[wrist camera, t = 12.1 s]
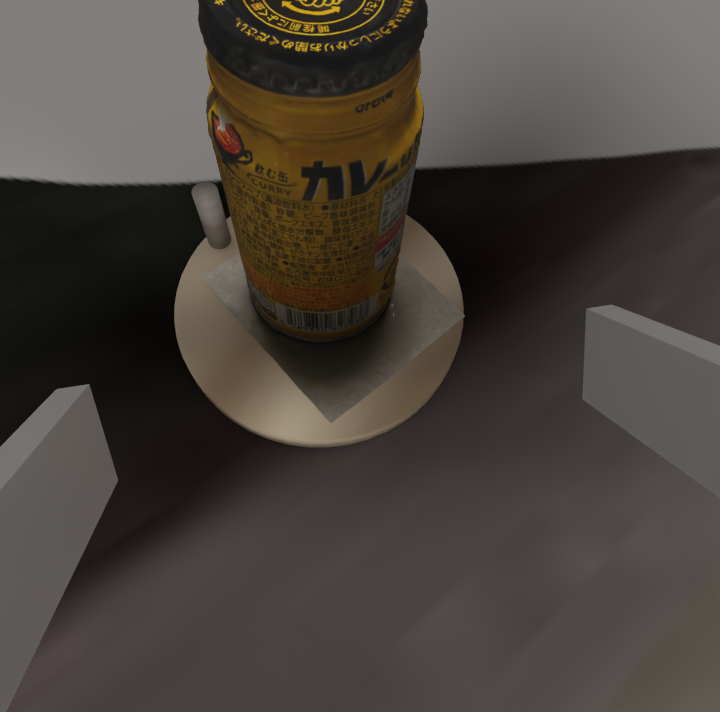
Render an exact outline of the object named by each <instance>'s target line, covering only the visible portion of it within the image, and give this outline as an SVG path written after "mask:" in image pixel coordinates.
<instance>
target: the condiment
mask: <svg viewBox="0 0 720 712" xmlns="http://www.w3.org/2000/svg"><path fill="white" fill-rule="evenodd" d="M198 2H199V17H198V21H199V26H200V30H201V33H202V35H203V38H204V43H205V45H206V47H207V55H206V61H207V68H208V73H209V76H210V80H211V86H210V89H209V93H208V97H207V109H206V113H207V120H208V131H209V135H210V137H211V139H212V143H213V148H214V151H215V155H216V159H217V163H218V167H219V171H220V175H221V180H222V184H223V188H224V192H225V196H226V200H227V204H228V208H229V212H230V216H231V220H232V224H233V228H234V232H235V236H236V240H237V244H238V248H239V252H240V253H239V254H237V255H235V256H234V257H231V258H229V259H228V260H226V261H225V262H223V263H222V264H220V265H218V266H217V267H215V268H213V269H212V270H210V271H209V272H207V273H206V274H204V275H203V276H201V278H202V279H203V280H204V281H205V283H206V284H207V285H208V286H209V287H210V288H211V289H212V291H213V292H214V293H215V294H216V295H217V296H218V298H219V299H220V300H221V301H222V302H223V303H224V304H225V306H226V307H227V308H228V309H229V310H230V311H231V312H232V313H233V314H234V316H235V317H236V318H237V319H238V320H239V322H240V323H241V324H242V325H243V326H244V327H245V329H246V330H248V331H249V332H250V334H251V335H252V336H253V337H254V339H255V340H256V341H257V342H258V343H259V344H260V345H261V346H262V347H263V349H264V350H265V351H266V352H267V353H268V354H269V355H270V356H271V357H272V358H273V359H274V360H275V361H276V362H277V363H278V365H279V366H280V367H281V368H282V370H283V371H284V372H285V373H286V374H287V375H288V376H289V378H290V379H291V380H292V381H293V382H294V383H295V385H296V386H297V387H298V388H299V389H300V390H301V391H302V392H303V393H304V394H305V395H306V396H307V397H308V398H309V399H310V401H311V402H312V403H313V404H314V405H315V406H316V407H317V409H318V410H319V411H320V412H321V413H322V414H323V415H324V417H325V418H326V419H327V420H328V421H329V422H330V423H332V422H334V421H335V420H336V419H338V418H339V417H340V416H341V415H343V414H344V413H345V412H346V411H347V410H349V409H351V408H352V407H354V406H355V405H356V404H357V403H358V402H360V401H361V400H362V399H364V398H365V397H366V396H367V395H369V394H370V393H371V392H372V391H373V390H374V389H376V388H377V387H378V386H380V385H381V384H383V383H384V382H385V381H386V380H388V379H389V378H390V377H391V376H392V375H394V374H395V373H396V372H397V371H399V370H400V369H401V368H402V367H403V366H405V365H406V364H407V363H408V362H410V361H412V360H413V359H414V358H415V357H416V356H417V355H418V354H420V353H421V352H422V351H423V350H424V349H425V348H426V347H428V346H429V345H430V344H432V343H433V342H434V341H436V340H437V339H438V338H439V337H441V336H442V335H443V334H444V333H445V332H446V331H448V330H449V329H450V328H451V327H452V326H454V325H455V324H456V323H457V322H459V321H460V320H461V319H462V318H464V317H465V315H464V314H463V313H462V312H461V311H460V310H459V309H458V308H457V307H456V306H455V305H454V304H453V303H452V302H451V301H450V300H449V299H447V298H446V297H445V296H444V295H442V294H441V293H440V292H439V291H438V290H437V288H436V287H435V286H434V285H433V284H432V283H431V282H429V281H428V280H427V279H425V278H424V277H423V276H422V275H421V274H420V273H419V272H418V271H417V269H415V268H414V267H413V266H412V265H410V264H409V263H408V262H407V261H406V260H405V259H404V258H403V257H401V256H400V255H399V253H400V251H401V248H400V247H401V243H402V238H403V229H404V226H405V219H406V214H407V209H408V203H409V199H410V193H411V187H412V183H413V177H414V173H415V165H416V160H417V154H418V147H419V144H420V137H421V133H422V125H423V118H424V107H423V102H422V97H421V93H420V90H419V88H418V85H417V84H418V80H419V77H420V74H421V59H420V51H419V48H420V45H421V43H422V39H423V38H424V30H425V28H426V27H427V14H428V12H427V11H428V9H427V4H426V1H425V0H198ZM392 304H393V307H391V305H392ZM393 313H395V314H394V317H393Z"/></svg>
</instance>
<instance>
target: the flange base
mask: <svg viewBox="0 0 720 712" xmlns="http://www.w3.org/2000/svg"><path fill="white" fill-rule="evenodd" d="M192 196H193V199H194V202H195V205H196V208H197V211H198V214H199V217H200V219H201V222H202V225H203V228H204V231H205V234H206V238H205V239H204V240H203V241H202V242H201V243H200V244H199V246H198V247H197V249H196V250H195V252H194V253H193V255H192V256H191V258H190V259H189V261H188V263H187V265H186V267H185V269H184V271H183V273H182V276H181V279H180V282H179V285H178V289H177V293H176V300H175V306H174V324H175V330H176V337H177V341H178V344H179V348H180V351H181V354H182V357H183V359H184V361H185V363H186V365H187V367H188V369H189V371H190V373H191V374H192V376H193V378H194V379H195V381H196V383H197V384H198V386H199V387H200V388H201V390H202V391H203V393H204V394H205V395H206V397H207V398H208V399H209V400H210V401H211V402H212V404H213V405H214V406H215V407H216V408H217V409H218V410H219V411H220V412H221V413H223V414H224V415H225V416H227V417H228V418H229V419H230V420H232V421H233V422H234V423H236V424H238V425H239V426H241V427H243V428H244V429H246V430H248V431H250V432H251V433H254V434H256V435H259V436H261V437H263V438H266V439H268V440H272V441H275V442H279V443H283V444H287V445H292V446H300V447H308V448H330V447H337V446H345V445H351V444H355V443H358V442H362V441H366V440H369V439H372V438H374V437H377V436H379V435H382V434H384V433H386V432H388V431H390V430H392V429H393V428H395V427H397V426H399V425H400V424H402V423H404V422H405V421H406V420H408V419H409V418H410V417H411V416H413V415H414V414H415V413H417V412H418V411H419V410H420V409H421V408H422V407H423V406H424V405H425V404H426V403H427V402H428V401H429V400H430V399H431V397H432V396H433V394H434V393H435V392H436V390H437V389H438V388H439V386H440V385H441V383H442V381H443V379H444V377H445V376H446V374H447V372H448V370H449V368H450V366H451V364H452V362H453V360H454V357H455V354H456V352H457V349H458V346H459V343H460V339H461V334H462V328H463V318H462V319H461V320H460V321H459V322H457V323H456V324H455V325H454V326H452V327H451V328H450V329H449V330H448V331H446V332H445V333H444V334H443V335H442V336H441V337H439V338H438V339H437V340H436V341H434V342H433V343H432V344H430V345H429V346H428V347H426V348H425V349H424V350H423V351H422V352H421V353H420V354H418V355H417V356H416V357H415V358H414V359H413V360H412V361H410V362H408V363H407V364H406V365H405V366H403V367H402V368H401V369H400V370H399V371H397V372H396V373H395V374H394V375H392V376H391V377H390V378H389V379H388V380H386V381H385V382H384V383H383V384H381V385H380V386H378V387H377V388H376V389H374V390H373V391H372V392H371V393H370V394H369V395H367V396H366V397H365V398H364V399H362V400H361V401H360V402H358V403H357V404H356V405H355V406H354V407H352V408H351V409H349V410H347V411H346V412H345V413H344V414H343V415H341V416H340V417H339V418H338V419H336V420H335V421H334V422H332V423H330V422H329V421H328V420H327V419H326V418H325V417H324V415H323V414H322V413H321V412H320V411H319V410H318V409H317V407H316V406H315V405H314V404H313V403H312V402H311V401H310V399H309V398H308V397H307V396H306V395H305V394H304V393H303V392H302V391H301V390H300V389H299V388H298V387H297V386H296V385H295V383H294V382H293V381H292V380H291V379H290V378H289V376H288V375H287V374H286V373H285V372H284V371H283V370H282V368H281V367H280V366H279V365H278V363H277V362H276V361H275V360H274V359H273V358H272V357H271V356H270V355H269V354H268V353H267V352H266V351H265V350H264V349H263V347H262V346H261V345H260V344H259V343H258V342H257V341H256V340H255V339H254V337H253V336H252V335H251V334H250V332H249V331H248V330H246V329H245V327H244V326H243V325H242V324H241V323H240V322H239V320H238V319H237V318H236V317H235V316H234V314H233V313H232V312H231V311H230V310H229V309H228V308H227V307H226V306H225V304H224V303H223V302H222V301H221V300H220V299H219V298H218V296H217V295H216V294H215V293H214V292H213V291H212V289H211V288H210V287H209V286H208V285H207V284H206V283H205V281H204V280H203V279H202V278H201V276H203V275H204V274H206V273H207V272H209V271H210V270H212V269H213V268H215V267H217V266H218V265H220V264H222V263H223V262H225V261H226V260H228V259H229V258H231V257H234V256H235V255H237V254H239V253H240V252H239V248H238V244H237V240H236V236H235V232H234V228H233V224H232V220H231V216H230V217H229V218H227V219H226V217H225V214H224V210H223V206H222V203H221V199H220V196H219V192H218V188H217V186H216V185H215V184H213V183H211V182H200V183H198V184H196V185H195V186H194V187H193V189H192ZM400 248H401V251H400V253H399V255H400V256H401V257H403V258H404V259H405V260H406V261H407V262H408V263H409V264H410V265H412V266H413V267H414V268H415V269H417V271H418V272H419V273H420V274H421V275H422V276H423V277H424V278H425V279H427V280H428V281H429V282H431V283H432V284H433V285H434V286H435V287H436V288H437V290H438V291H439V292H440V293H441V294H442V295H444V296H445V297H446V298H447V299H449V300H450V301H451V302H452V303H453V304H454V305H455V306H456V307H457V308H458V309H459V310H460V311H461V312H462V313H464V309H463V300H462V292H461V289H460V285H459V281H458V278H457V275H456V273H455V271H454V268H453V266H452V264H451V262H450V260H449V258H448V257H447V255H446V253H445V252H444V250H443V249H442V248H441V246H440V245H439V244H438V242H437V241H436V240H435V239H434V237H433V236H431V235H430V234H429V233H428V232H427V231H426V230H425V229H424V228H423V227H422V226H421V225H420V224H419V223H417V222H416V221H415V220H413V219H412V218H411V217H409V216H408V215H406V219H405V226H404V229H403V238H402V243H401V247H400ZM391 307H393V304H392V305H391ZM394 314H395V313H393V317H394Z"/></svg>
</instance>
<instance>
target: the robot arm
mask: <svg viewBox="0 0 720 712" xmlns="http://www.w3.org/2000/svg"><path fill="white" fill-rule="evenodd" d="M582 399H583V400H584V401H585V402H587V403H588V404H589V405H591V406H592V407H594V408H595V409H596V410H598V411H599V412H601V413H602V414H603V415H605V416H606V417H608V418H609V419H610V420H612V421H613V422H615V423H616V424H617V425H619V426H620V427H621V428H623V429H624V430H626V431H627V432H628V433H630V434H631V435H633V436H634V437H635V438H637V439H638V440H640V441H641V442H642V443H644V444H645V445H647V446H648V447H649V448H651V449H652V450H653V451H655V452H656V453H658V454H659V455H660V456H662V457H663V458H665V459H666V460H667V461H669V462H670V463H672V464H673V465H674V466H676V467H677V468H679V469H680V470H681V471H683V472H684V473H685V474H687V475H688V476H690V477H691V478H692V479H694V480H695V481H697V482H698V483H699V484H701V485H702V486H704V487H705V488H706V489H708V490H709V491H711V492H712V493H713V494H715V495H716V496H717V497H719V498H720V346H719V345H716V344H714V343H711V342H708V341H706V340H703V339H701V338H698V337H695V336H693V335H690V334H688V333H685V332H682V331H680V330H677V329H674V328H672V327H669V326H667V325H664V324H661V323H659V322H656V321H654V320H651V319H648V318H646V317H643V316H641V315H638V314H635V313H633V312H630V311H627V310H625V309H622V308H620V307H617V306H614V305H606V306H599V307H593V308H586V326H585V350H584V373H583V397H582ZM117 481H118V478H117V475H116V472H115V468H114V465H113V462H112V458H111V455H110V452H109V448H108V445H107V442H106V439H105V435H104V432H103V429H102V425H101V422H100V419H99V415H98V412H97V409H96V405H95V402H94V399H93V395H92V392H91V389H90V385H89V384H87V385H81V386H74V387H68V388H61V389H56V390H55V391H54V392H53V393H52V394H51V395H50V396H49V397H48V398H47V399H46V400H45V402H44V403H43V404H42V405H41V406H40V407H39V408H38V409H37V410H36V411H35V412H34V413H33V414H32V415H31V416H30V417H29V418H28V419H27V420H26V421H25V422H24V423H23V424H22V425H21V426H20V427H19V428H18V429H17V430H16V431H15V432H14V433H13V435H12V436H11V437H10V438H9V439H8V440H7V441H6V442H5V443H4V444H3V445H2V446H1V447H0V712H6V711H7V709H8V707H9V705H10V703H11V701H12V699H13V697H14V695H15V693H16V691H17V689H18V687H19V685H20V682H21V680H22V678H23V676H24V674H25V672H26V670H27V668H28V666H29V664H30V662H31V660H32V658H33V656H34V653H35V651H36V649H37V647H38V645H39V643H40V641H41V639H42V637H43V635H44V633H45V631H46V629H47V626H48V624H49V622H50V620H51V618H52V616H53V614H54V612H55V610H56V608H57V606H58V604H59V602H60V600H61V597H62V595H63V593H64V591H65V589H66V587H67V585H68V583H69V581H70V579H71V577H72V575H73V573H74V571H75V568H76V566H77V564H78V562H79V560H80V558H81V556H82V554H83V552H84V550H85V548H86V546H87V544H88V542H89V539H90V537H91V535H92V533H93V531H94V529H95V527H96V525H97V523H98V521H99V519H100V517H101V515H102V513H103V510H104V508H105V506H106V504H107V502H108V500H109V498H110V496H111V494H112V492H113V490H114V488H115V486H116V484H117Z"/></svg>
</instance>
